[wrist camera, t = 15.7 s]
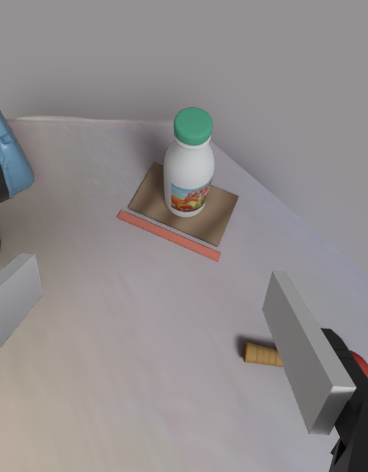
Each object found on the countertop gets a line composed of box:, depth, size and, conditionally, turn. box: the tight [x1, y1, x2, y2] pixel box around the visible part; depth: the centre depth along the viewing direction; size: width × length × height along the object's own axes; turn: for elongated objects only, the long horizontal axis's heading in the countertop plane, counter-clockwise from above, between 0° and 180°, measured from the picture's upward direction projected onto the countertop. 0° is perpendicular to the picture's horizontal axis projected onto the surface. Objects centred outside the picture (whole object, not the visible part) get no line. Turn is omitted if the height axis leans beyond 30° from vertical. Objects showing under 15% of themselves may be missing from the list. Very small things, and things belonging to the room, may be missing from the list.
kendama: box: [243, 342, 368, 378], centre depth 39 cm, size 8×6×18 cm
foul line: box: [118, 210, 221, 261], centre depth 46 cm, size 20×2×1 cm, turn 66°
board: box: [129, 162, 239, 247], centre depth 49 cm, size 18×11×1 cm, turn 66°
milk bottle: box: [164, 107, 214, 217], centre depth 39 cm, size 8×8×20 cm
